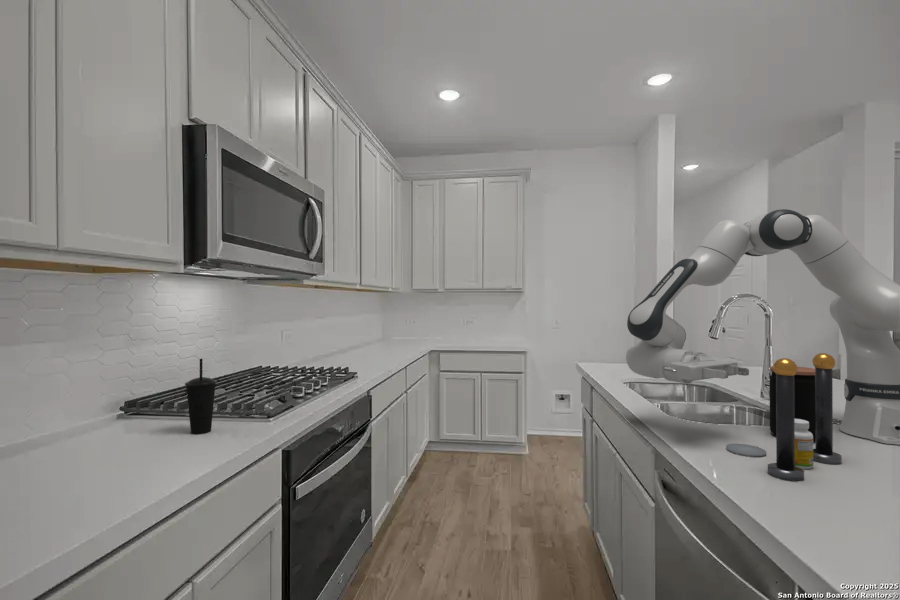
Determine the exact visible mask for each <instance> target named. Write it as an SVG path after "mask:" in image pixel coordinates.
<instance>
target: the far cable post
mask: <svg viewBox="0 0 900 600" xmlns="http://www.w3.org/2000/svg"><path fill="white" fill-rule="evenodd" d="M811 361H812V365H813V367H814V369H815V442H814V444H815V446H814V447H815V448H813V462H816V463H819V464H823V465H824V464H825V465H834V466H835V465H836V466H837V465H842V463H843V462H842V461H843V460H842V459H843V458H842V455H841V453H837V452H836V451H833V447H834V443H833V442H834V438H833V437H834V434H833V432H834V430H833V427H834V426H833V425H834V423H833V419H834V417H833V411H834V410H833V409H834V407H833V406H834V405H833V404H834V403H833V400H834V399H833V396H834V395H833V392H834V391H833V389H834V388H833V369H834V367H835V366H836V360H835V357H833V356H832V355H831V354H829V353H826V352H825V353H824V352H820V353H817V354H815V355H814V356H813V358H812V360H811Z"/></svg>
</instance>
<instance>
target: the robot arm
mask: <svg viewBox="0 0 900 600" xmlns="http://www.w3.org/2000/svg"><path fill="white" fill-rule="evenodd" d="M784 250H790V251H791V252H792V253H794V254H795V255H797V257H798V258H799V260H800V261H801V262H802V263H803V264H804V265H805V267H806V268H807V269H808V271H809V272H810V273H811V274H812V276H814V278H815V279H816V280H817V281H818V282H819V283H820V285H821V286H822V287H824V288H825V289H827V290H830V291H831V292H832V293H834V294H835V295H836V296H835V297H834V298H833V299H832V300H831V302H830V303H829V312H830V315H831V318H832V319H833V320H834V321H835V322H836V323H837V326H838V327H839V330H840V334H841V336H842V339H843V343H844V346H845V353H846V378H845V379H844V385H843V386H844V387H843V389H844V390H843V391H844V393H843V394H844V400H845V405H844V413H843V416H842V420H841V422H840V426H839V431H841V432H842V433H844V434H848V435H851V436H855V437H859V438H862V439H866V440H871V441H875V442H878V443H881V444H888V445H899V446H900V348H898V347H897V345H896V344H895V342H894V340H893V338H892V337H893V336H892V334H891V332H896V331H900V285H899V283H897V282H895V281H894V280H892V279H891V278H890V277H889V276H887V275H886V274H884V273H883V272H882V271H880V270H879V269H878V268H876V267H874V265H872V264H871V263H870V262H869V261H868V260H866V258H865V257H864V256H863V255H862V254H861V253H860V251H859V250H858V249H857V248H856V247H855V246H854V245H853V243H852V242H851V241H850V240H849V239H848V238H847V237H846V235H844V233H843V232H842V231H841V230H839V229H838V227H837V226H835V225H834V224H833V223H831V221H829V220H828V219H827V218H825V217H824V216H822V215H819V214H807V215H802V214H801V213H800V212H798V211H795V210H792V209H787V208H786V209H785V208H784V209H783V208H782V209H781V208H780V209H776V210H772V211H769V212H766V213H764V214H761V215H758V216H756V217H755V218H754V219H752V220H750V221H747V222H746V223H743V222H740V221H737V220H733V219H725V220H721V221H719V222H718V223H716V224H715V225H714V226H713V227H712V228H711V230H710V231H708V233H707V234H706V235H705V236H704V238H703V239H702V240H701V241H700V243H699V244H698V245H697V247H696V248H695V250H694V251H693V252H692V253H691V254H690V255H689V256H688V257H687V258H684V259H681V260H679V261H677V262H676V263H675V264H674V265H673V266H672V267H671V268H670V269H669V271H668V272H667V273H666V274H665V275H664V276H663V277H662V278H661V280H659V282H658V283H657V284H656V286H655V287H654V288H653V289H652V290H651V291H650V292H649V294H647V296H646V297H644V298H643V300H641V302H639V303H638V304H637V305H635V306H634V307H633V308H632V309H631V311H630V312H629V313H628V317H627V320H626V321H627V322H626V323H627V325H626V327H627V330H628V331H629V333H630V335H632V336H634V337H636V338H637V339H639V340H640V341H639V342H638V343H636V344H635V345H634V346H631V347H629V348H628V349H627V351H626V355H625V360H626V364H627V366H628V368H629V369H630V370H631V372H632V373H634V374H637V375H639V376H642V377H647V378H651V379H665V380H667V381H669V382H676V383H680V384H686V385H687V384H692V383H693V382H695V381H701V380H709V379H710V380H711V379H720V380H721V379H722V380H724V379H728V378H729V377H731V376H736V375H738V376H749V375H750V368H748V367H741V366H739V364H738V362H737V361H736V360H732V359H730V358H729V359H728V358H723V357H718V356H712V355H707V353H704V352H696V351H692V350H690V349H683V348H684V345H685V342H686V339H687V333H686V330H685V328H684V327H683V326H682V325H681V324H680V323H679V322H677V320H674V319H673V318H672V317H670V316H669V315H668V314H667V313H666V312H667V309H668V308H669V306H670V305H671V304H672V302H673V301H674V300H675V299H676V298H677V297H678V296H679V294H680V293H681V292H682V291H683V289H685V288H686V287H688V286H691V285H697V286H701V287H712V286H717V285H720V284H722V283H723V282H724V281H726V280H727V279H728V277H729V276H730V275H731V274H732V273H733V271H734V270H735V268H736V267H737V264H738V263H739V262H740V260H741V258H742V257H743V256H744V255H746V256H750V257H762V256H768V255H774V254H777V253H779V252H781V251H784Z"/></svg>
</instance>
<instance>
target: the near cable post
mask: <svg viewBox="0 0 900 600" xmlns="http://www.w3.org/2000/svg"><path fill="white" fill-rule="evenodd" d="M772 366H773V369H774V372H775V373H776V438H775V439H776V447H775V448H776V450H775V451H776V456H775V457H776V459H775V461H776V462H770V463H768V464H767V474H768V475H769V476H771V477H772V478H776V479H778V478H779V480H783V481H787V482H788V481H789V482H802V481H804V480H805V471H804V470H805V469H801V468H799V467H796V466H795V419H794V375H795V374H796V373H797V367H798V365H797V364H796V362H795V361H793V360H791V359H790V358H786V357H782V358H778V359H777V360H775V361H774V363H773V365H772Z"/></svg>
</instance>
